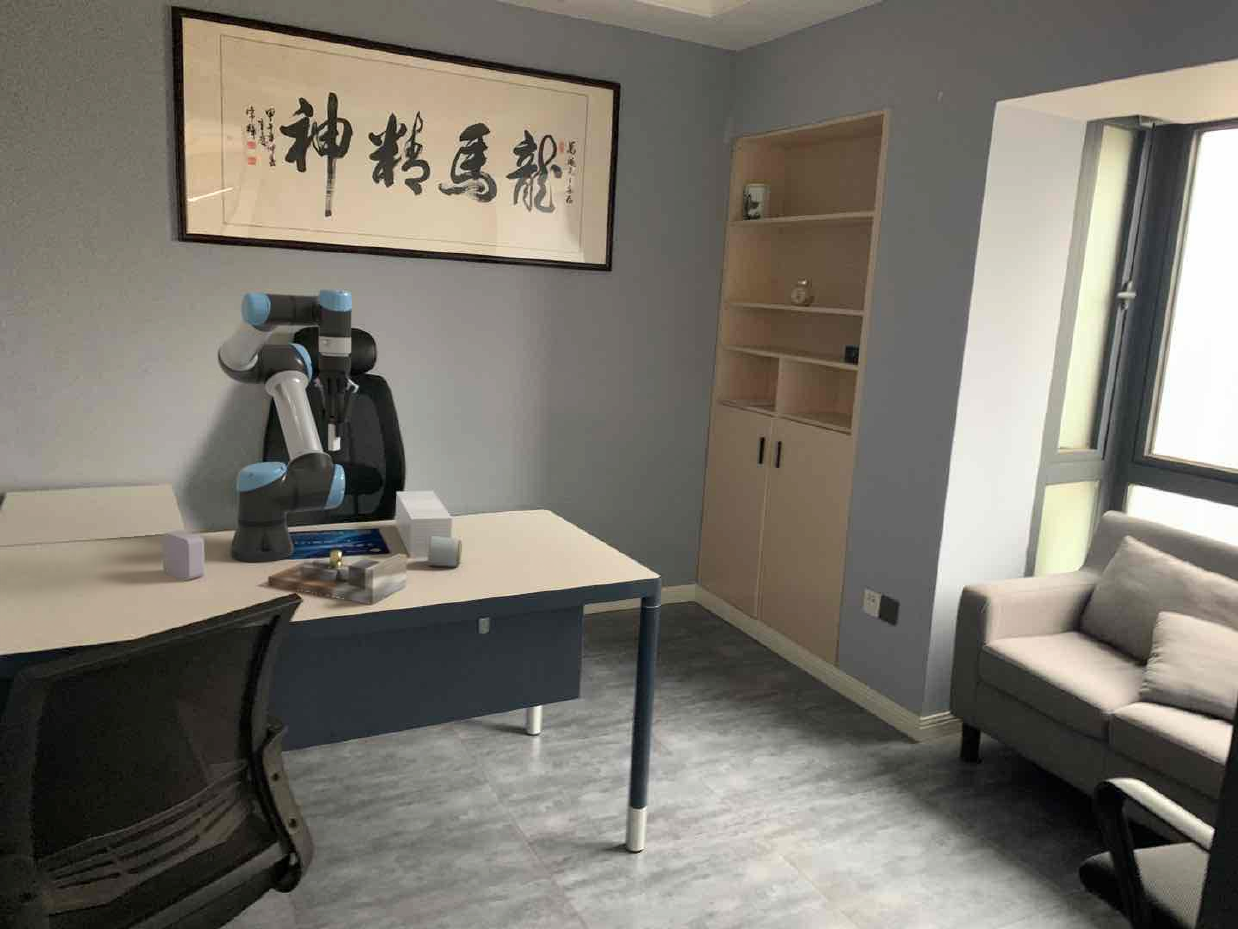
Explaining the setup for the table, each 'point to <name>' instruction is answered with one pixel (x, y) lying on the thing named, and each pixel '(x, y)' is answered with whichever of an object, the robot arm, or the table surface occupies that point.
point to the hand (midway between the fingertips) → (334, 449)
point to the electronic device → (183, 555)
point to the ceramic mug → (444, 552)
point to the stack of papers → (421, 520)
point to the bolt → (338, 564)
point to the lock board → (362, 585)
